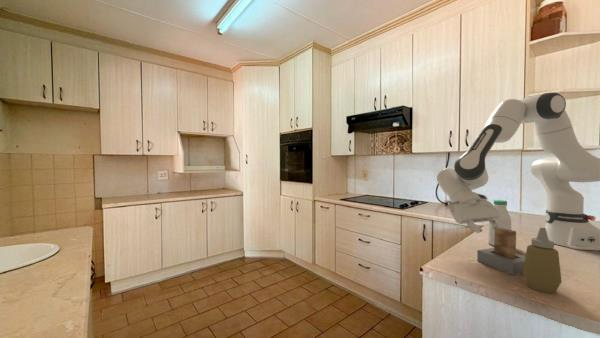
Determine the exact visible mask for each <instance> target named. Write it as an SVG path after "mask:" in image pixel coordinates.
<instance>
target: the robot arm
mask: <svg viewBox="0 0 600 338" xmlns="http://www.w3.org/2000/svg"><path fill="white" fill-rule="evenodd" d="M566 106H567V102H566V99H565V97H564V96H563V95H562V94H560V93H559V92H546V93H545V92H544V93H542V94H537V95H531V96H527V97H524V98H522V99H515V98H512V99H511V98H509V99H505V100H503V101H501V102H500V103H499V104H498V106H496V108H495V109H494V110H493V111H492V113H491V114H490V116H489V117H488V119H487V121H486V123H485V125H484V127H483V128H482V129H481V131H480V132H479V134H478V135H477V136H476V138H475V140H474V141H473V143H472V144H471V146H470V147H469V148H468V149H467V151H466V152H464V153H463V154H461V156H460V157H458V158H457V159H456V160H455V163H454V167H445V168H443V169H442V170H440V171H439V172H438V173H437V175H436V181H437V184H438V186H439V187H440V188H441V190H442V191H443V192H444V194H445V195H447V196H448V198H449V202H448V204H447V208H448V209H449V212H450V214H451V215H452V217H453V220H455V223H457V224H459V225H463V224H466V225H467V226H468V227H469V228H471V229H472V230H474V232H475V233H481V232H483V228H482V227H480V225H479V226H478V225H477V224H476V223H482V222H488V223H489V222H490V223H492V228H493V229H494V230H495V228H500V226H499V225H498V223H497V220H496V219H498V218H499V217H500V213H499V211H498V210H497V209H496V208H495V207H494V203H492V202H491V201H489V200H488V199H489V198H488V197H487V196H486V195H485V194H480V193H477V192H474V191H473V190H476V189H479V188H481V187H484V186H485V185H486V184H487V183H488V180H489V175H488V171H487V168H486V157H487V155H488V154H489V152H490V151H491V150H492V148H493V147H494V145H495V144H497V143H498V144H499V143H506V142H509V141H510V140H511V139H512V138H513V136H514V135H515V134H516V133H517V131H518V129H519V127H520V126H521V124H529V123H530V124H531V123H534V128H535V132H536V136H537V139H538V142H539V146H540V147H541V149H542V150H543V151H545V152H546V153H549V154H551V155H552V156H548V157H543V158H538V159H536V160H534V161H533V162H532V164H531V167H530V172H531V174H532V176H534V178H536V179H538V180H539V181H540V183H541V184H542V186H543V187H544V190H545V193H546V199H547V200H546V202H547V204H546V207H547V208H546V210H545V227H544V228H546V231H547V235H548V239H549V240H550V241H553V242H554V245H556V246H557V245H558V246H563V247H567V248H570V249H573V250H581V251H582V250H584V251H585V250H586V251H600V228H599V227H596V226H595V225H593V224H592V223H591V222H590V221H593V222H595V221H596V216H594V215H591V214H590V215H589V214H585V213H584V204H585V203H584V202H585V201H584V200H585V199H584V195H583V194H582V193H580V192H579V191H577V190H576V189H574V188H573V187H572V186H571V184H570V182H571V183H583V184H584V183H595V182H600V158H599V157H597V156H595V155H593V154H592V153H590V152H588V150H587V149H585V148H584V147H583V146H582V145H581V144H580V142H579V141H578V139H577V135H576V134H575V131H574V128H573V125H572V121H571V119H570V117H569V115H568V113H567V111H566V110H565V109H566Z"/></svg>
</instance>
